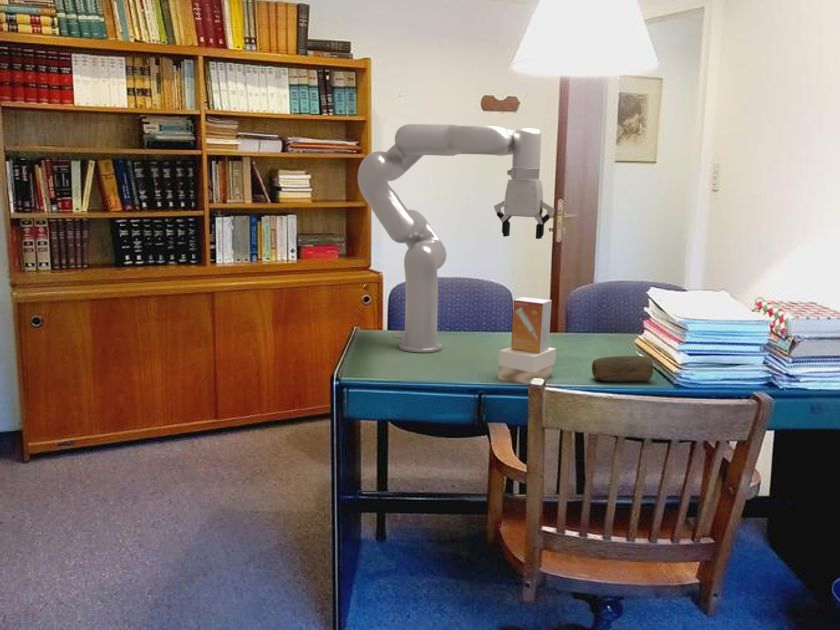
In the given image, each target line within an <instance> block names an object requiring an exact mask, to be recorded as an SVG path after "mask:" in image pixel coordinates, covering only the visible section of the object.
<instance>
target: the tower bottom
mask: <svg viewBox="0 0 840 630" xmlns="http://www.w3.org/2000/svg"><path fill="white" fill-rule="evenodd" d="M552 375H553V365H550V366H548V367H546V368H543V369H541V370H539V371H536V372H534V373H533V372H528V371H523V370H518V369H512V368H507V367H502V366H499V365H498V375H497V376H498V378H497V379H498V380H500V381H508V382H513V383H520V384H525V385H529V384H528V383H529V382H530V380H531V379H533V378H542V379H545V380H546V379H547V378H549V377H551V376H552Z"/></svg>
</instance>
